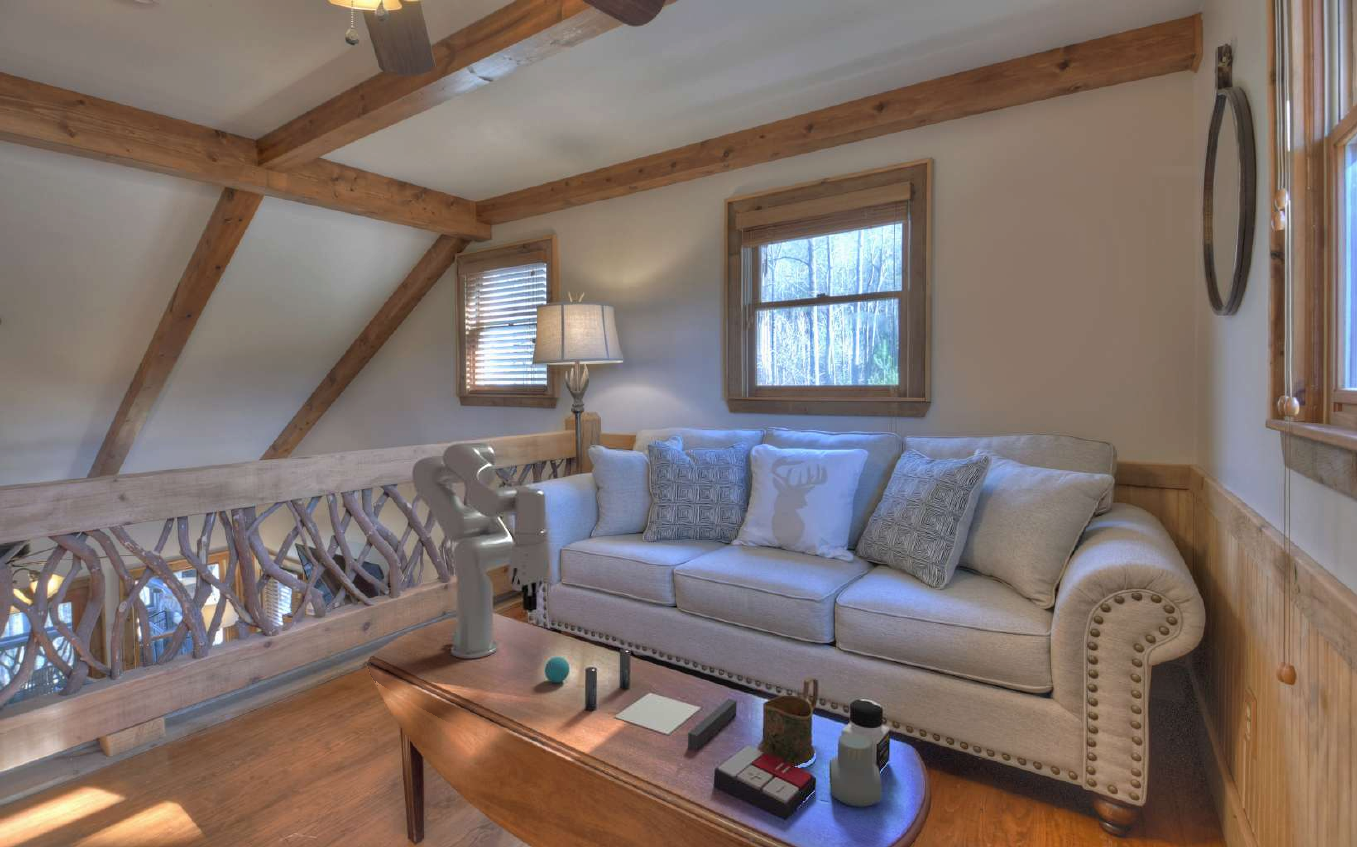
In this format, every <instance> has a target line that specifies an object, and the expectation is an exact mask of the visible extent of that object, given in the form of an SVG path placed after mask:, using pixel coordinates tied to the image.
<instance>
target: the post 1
mask: <svg viewBox="0 0 1357 847" xmlns="http://www.w3.org/2000/svg"><path fill="white" fill-rule="evenodd" d="M584 672H585V675H584V681H585V682H584V683H585V684H584V710H585V711H587V712H594V711H597V706H598V705H597V702H598V701H597V696H598V694H597V693H598V692H597V691H598V689H597V686H598V668H597V667H594V666H590V667H589V666H588V667H586V668H585V669H584Z"/></svg>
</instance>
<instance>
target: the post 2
mask: <svg viewBox="0 0 1357 847" xmlns="http://www.w3.org/2000/svg"><path fill="white" fill-rule="evenodd" d="M631 651H632V650H631V649H628V648H622V649H619V689H620V690H624V691H626V690H630V689H631V655H632V654H631Z"/></svg>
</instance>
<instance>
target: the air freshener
mask: <svg viewBox="0 0 1357 847" xmlns="http://www.w3.org/2000/svg"><path fill="white" fill-rule="evenodd" d="M837 740H838V741H837V743H838V745H837V756H835V757H832V759H830V760H829V787H830V795H832V796H833V797H834V798H835V799H837V800H838V801H840V802H842V803H844V804H846V805H849V806H853V807H869V806H871V805H875V804H877V803H879V802H880V801H881V800H882V796H883V795H882V793H883V792H882V780H881V774H880V772H879V768H878V766H877V765H876V764H875V763H873V762H872V748H873V745H872V742H871V741H870V740H869V739H868V738H867V737H865V736H863V735H860V734H855V733H847V734H843V735H842V736H841V735H840V736H839V737H838V739H837Z"/></svg>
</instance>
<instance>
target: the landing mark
mask: <svg viewBox="0 0 1357 847" xmlns="http://www.w3.org/2000/svg"><path fill="white" fill-rule="evenodd" d="M701 709H702V707H701V706H696V705H692V704H689V703H687V702H683V701H679V700H677V699H672V698H669V697H666V696H661V695H659V694H655V693H651V692H649V693H648V694H646V695H644V696H642V697H641V698H640V699H639V700H636V701H635V702H634V703H632V704H631V705H630V706H628V707H627V708H625V709H623V710H622V711H620V712H619V713H618V714H616V715H614V717H613V718H615V719H618V720H621V721H624V722H627V723H629V724H633V725H635V726H639V727H641V728H646V729H648V730H651V731H655V732H657V733H660V734H663V735H667V736H669V735H670V734H671V733H673V731H675V730H676V729H678V728H679V727H681V725H682V724H684V723H685V722H687V720H689V719H690V718H691V717H692V716H694V715H695V714H696V713H697V712H698V711H700V710H701Z"/></svg>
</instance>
